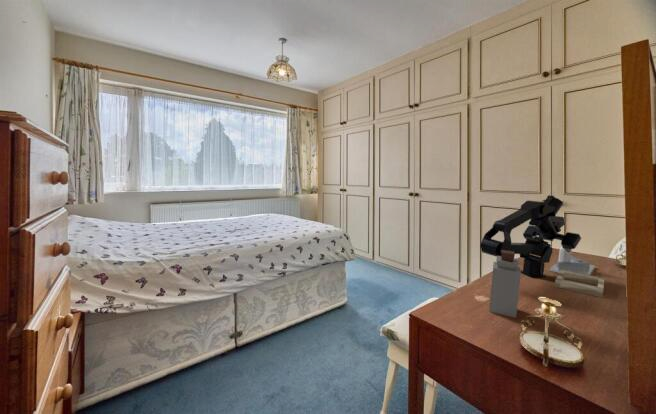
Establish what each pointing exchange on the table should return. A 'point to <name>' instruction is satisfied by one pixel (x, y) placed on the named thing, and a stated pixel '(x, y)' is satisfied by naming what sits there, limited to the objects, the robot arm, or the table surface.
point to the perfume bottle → (505, 285)
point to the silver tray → (573, 266)
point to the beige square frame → (578, 286)
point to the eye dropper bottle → (564, 255)
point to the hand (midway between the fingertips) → (556, 248)
